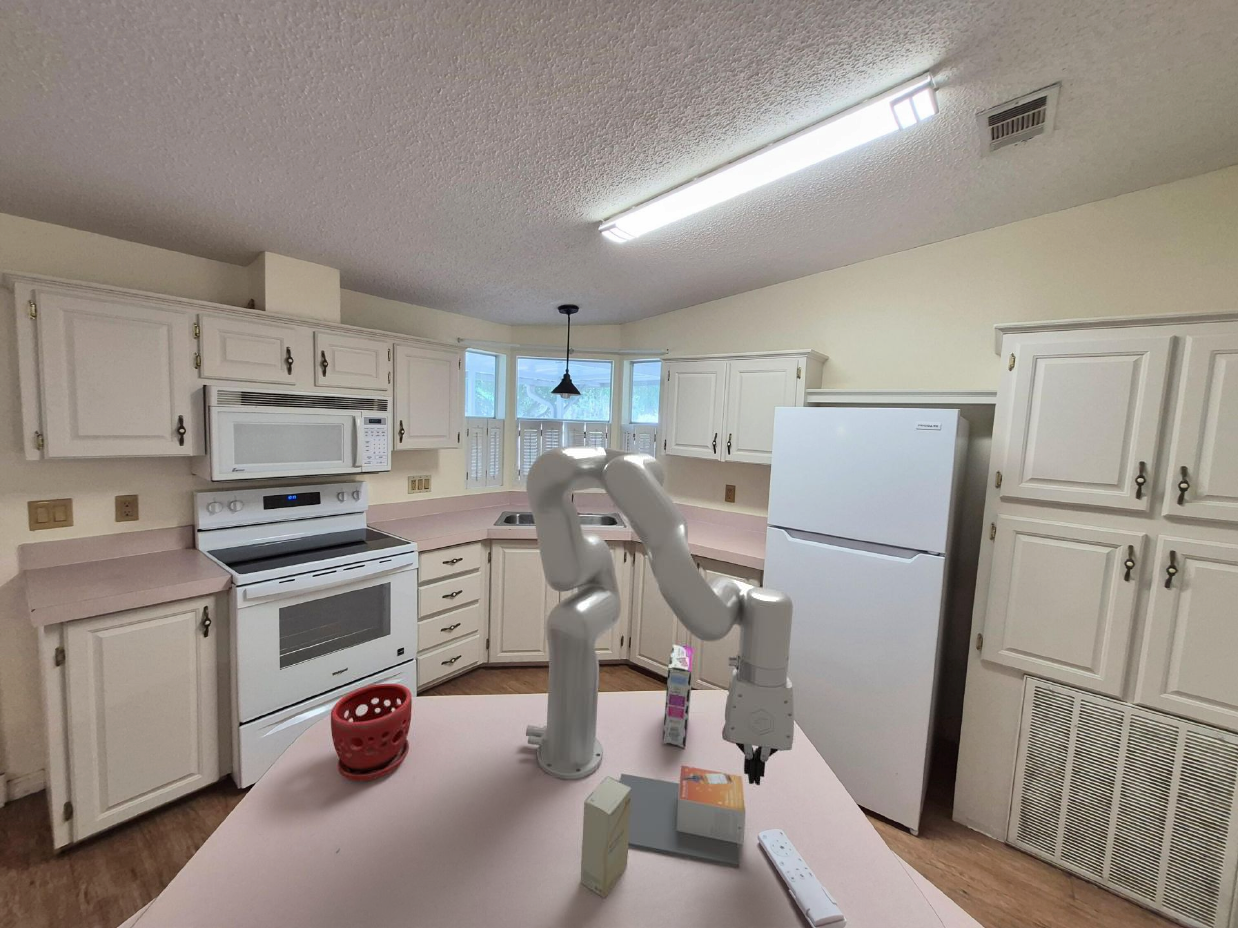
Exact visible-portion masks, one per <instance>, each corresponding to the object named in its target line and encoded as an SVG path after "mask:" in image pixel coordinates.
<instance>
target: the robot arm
mask: <svg viewBox="0 0 1238 928" xmlns="http://www.w3.org/2000/svg"><path fill="white" fill-rule="evenodd" d="M525 482H526V483H525V487H526V488H525V490H526V495H527V501H528V505H529V508H530V511H531V514H532V518H533V522H534V526H535V533H536V534H535V535H536V538H537V543H538V549H539V554H540V559H541V565H542V570H543V575H544V578H545V581H546V583H547V585H548V586H549V587H550V588H552V589H553V590H554V591H557V592H559V593H560V592H563V593H564V592H570V591H572V590H574V589H577V592H574V593H572V594H571V595H568V597H566V598H563V600H561V601H560V602H558V603H557V604H556V605H555V606H554V607H552V609H551V611H550V612H549V614H548V615H547V619H546V621H545V634H546V635H545V636H546V641H547V647H548V687H547V688H548V690H547V709H546V710H547V715H546V725H544V726H542V727H541V726H540V727H539V726H535V725H532V724H531V725H529V724H528V725H526V731H525V736H526V737H527V744H529V745H537V746H538V748H537V753H536V755H537V756H536V757H537V763H538V765H539V767H540V768H541V769H542V771H544V772H545V773H546V774H548V775H550V776H551V777H555V778H557V779H561V780H562V779H564V780H575V779H580V778H584V777H586V776H589V775H591V774H592V773H593V772H595V771H596V770H597V769H598V768H599V767H600V765H601V763H602V761H603V753H604V750H603V746H602V744H601V742H600V741H599V739H598V738H597V736H596V735H597V717H598V699H599V698H598V697H599V681H600V679H599V678H600V677H599V676H600V664H599V658H598V654H597V652H596V642H597V641H598V639H599V638H600V637H602V636H603V635H604V634H605V633H606V632H607V631H609V630H610V629H611V628H612V627H614V626H615V625H616V624H617V622H618V621H619V618H620V615H621V613H622V612H621V611H622V601H621V595H620V591H619V585H618V579H617V574H616V569H615V565H614V564H615V563H614V560H613V559H614V558H613V555H612V552H611V550H610V547H609V546H608V544H607V542H606V541H605V540H604V539H603V538H602V537H601V536H600V535H598V534H596V533H593V532H591V531H590V532H586V531H585V532H583V530H582V527H581V526H582V525H581V521H580V515H579V513H578V510H577V508H576V506H575V504H574V503H573V501H572V499H571V498H570V494H573V492H579V491H583V490H589V489H601V490H604V491H605V493H606V494H607V497H609V499H610V500H611V502H612V503H613V505H615V507H616V509H617V510H618V511H619V513H620V514H621V515H622V517H623V518H624V520H626V522H627V523H628V525H629V527H630V528H631V529H632V531H633V532H634V533H635V535H636V536H637V538H638V539H639V541H640V542H641V543H642V544H643V546H644V548H645V550H646V553H647V558H648V562H649V565H650V569H651V572H652V575H653V578H654V581H655V583H656V587H657V588H658V591H659V592H660V594H661V596H662V598H663V599H664V601H665V603H666V604H667V605H668V607H669V608H670V610H671V611H672V612H673V614H674V615H675V617H676V618H677V619H678V621H679V622H680V623H681V625H682V626H683V627H684V628H685V629H686V630H687V631H688V632H689V633H690V634H691V635H692V636H694V637H695V638H697V639H699V640H700V641H703V642H704V641H705V642H710V643H711V642H717V641H720V640H722V639H724V638H725V637H726V636H727V635H729V633H730V632H731V630H733V627H734V626H735V625H736V626H738V627H739V628H740V629H739V643H738V651H737V654H736V655H735V656H733V657H731V656H728V661H727V663H728V667H733V668H734V669H733V670H732V673H731V676H730V681H729V685H728V689H727V696H726V702H725V708H724V709H725V710H724V711H725V712H724V721H725V722H724V726H723V728H722V731H721V734H722V735H721V737H722V740H724V741H726V742H729V743H730V744H735V745H736V747H738V749H739V750H740V751H741V752H742V753H743V754H744V761H743V773H744V775H747V776H748V778H747V779H748V784H750V785H753V784H755V785H756V786H761V777H762V778H764V777H765V772H766V771H765V770H766V762H768V761H769V759H770V757H771V756H773V755H775V753H777V752H779V751H780V752H782V751H783V752H784V751H791V750H792V749H793V743H794V737H795V736H794V734H795V733H794V732H795V731H794V730H795V704H794V703H795V697H794V689H793V683H792V681H791V680H790V678H789V677H788V672H789V671H788V669H789V659H790V658H789V656H790V647H791V646H790V645H791V636H792V635H791V634H792V625H793V624H792V623H793V622H792V621H793V611H794V607H793V601H792V600H791V598H790V596H788V594H786V593H785V592H783V591H780V590H778V589H774V588H770V587H764V586H763V587H759V586H758V587H757V586H753V585H751V584H748V583H745V582H742V581H740V580H738V579H734V578H732V577H728V576H721V575H720V576H714V577H711V578H710V579H708V580H706V579H705V577H704V576H703V575H702V573H701V572H700V570H699V569H698V567H697V565H696V563H695V561H694V559H693V557H692V554H691V551H690V547H689V541H688V540H689V538H688V533H689V530H688V522H687V519H686V517H685V515H684V514H683V512H682V511H681V510H680V508H678V506H677V505H676V503H674V501H673V500H672V498H671V497H670V496H669V495H668V493H667V492H666V491H665V489H664V488H663V485H664V484H665V470H664V468H663V466H662V464H661V463H660V461H659V460H657V458H656V457H654V456H653V455H650V454H647V453H643V452H634V451H627V450H621V449H616V448H609V447H605V446H604V447H603V446H596V445H583V446H582V445H581V446H579V445H577V446H576V445H575V446H573V445H572V446H570V445H569V446H559V447H555V448H552V449H549V450H547V451H545V452H543V453H542V454H540V455H539V456H538V457H537V458H536V459H535V461H534V462H533V463H532V465H531V466H530V468H529V470H528V473H527V475H526V481H525ZM753 746H756V748H755V749H754V747H753Z"/></svg>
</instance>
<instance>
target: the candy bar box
mask: <svg viewBox="0 0 1238 928" xmlns="http://www.w3.org/2000/svg"><path fill="white" fill-rule="evenodd" d="M694 650H695V649H694V647H691V646H687V645H686V646H684V645H679V644H672V647H671V651H670V658H669V661H668V667H667V680H666V681H667V682H666V683H667V684H666V691H665V692H666V693H665V704H664V705H665V706H664V707H665V708H664V717H663V718H664V719H663V720H664V722H663V730H662V731H663V733H662V741H661V742H662V744H663V745H668V746H673V747H677V748H683V749H685V748H686V743H687V735H688V728H689V717H690V709H691V708H690V706H691V695H692V694H691V693H692V681H693V668H694Z"/></svg>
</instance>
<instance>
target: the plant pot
mask: <svg viewBox="0 0 1238 928" xmlns="http://www.w3.org/2000/svg"><path fill="white" fill-rule="evenodd" d="M374 699H378V701H377V702H376V703H373V702H372V700H374ZM398 700H399V701H400V703H399V702H398ZM386 701H389V705H386V704H385V702H386ZM412 701H413V699H412V693H411V691H410V689H409V688H408V687H406V686H404V685H401V684H398V683H378V684H372V685H368V686H364V687H362V688H359V689H356V690H354V691H352V692H349V693H347V694H346V695H345V696H343V697H342V698H340V699H339V700H338V701H337V702H336V703H335V704H334V705H333V707H332V709H331V712H330V730H331V731H330V732H331V738H332V743H333V746H334V749H335V752H336V754H337V757H339V758H338V760H337V769H338V772H339V773H340V775H342V776H343V777H344V778H346V779H348V780H351V781H356V782H365V781H366V782H367V781H370V780H375V779H378V778H381V777H383V776H385V775H387V774H390V773H391V772H393V771H394V770H395V769H397V768H398V767H399V766H400V765H401V764H402V763H403V762H404V760H405V758H406V757H407V755H408V753H409V749H410V742H409V740H408V739H407V738H408V736H409V731H410V725H411V721H412V708H413V706H412V705H413V704H412V703H413V702H412ZM363 705H365V706H367V710H366V712H365V713H363V714H361V715H358V714H357V712H356V711H357V709H358V708H359V707H360V706H363ZM376 709H379V711H378V712H376ZM393 709H394V711H393ZM347 712H348V714H347V715H346V717H345V714H346V713H347ZM351 719H352V721H350V720H351Z"/></svg>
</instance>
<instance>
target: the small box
mask: <svg viewBox="0 0 1238 928" xmlns="http://www.w3.org/2000/svg"><path fill="white" fill-rule="evenodd" d="M678 783H679V792H678V811H677V831H680V832H684V833H689V834H694V835H699V836H704V837H709V838H714V839H718V840H723V841H728V842H733V843H738V845H739V844H740V845H744V839H745V826H746V807H745V795H744V780H743V776H742V775H736V774H730V773H726V772H720V771H715V770H710V769H709V770H708V769H703V768H699V767H692V766H687V765H683V764H681V765H680V771H679V781H678Z"/></svg>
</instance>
